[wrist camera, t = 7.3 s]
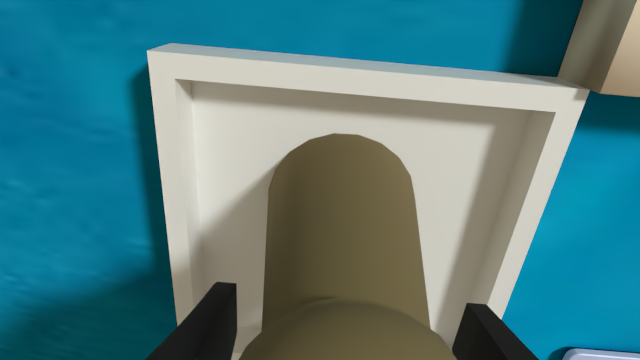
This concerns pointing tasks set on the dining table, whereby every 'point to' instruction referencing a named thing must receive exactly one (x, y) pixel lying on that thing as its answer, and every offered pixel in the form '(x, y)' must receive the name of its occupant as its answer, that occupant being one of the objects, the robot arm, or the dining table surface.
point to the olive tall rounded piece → (344, 258)
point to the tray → (371, 122)
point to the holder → (605, 48)
